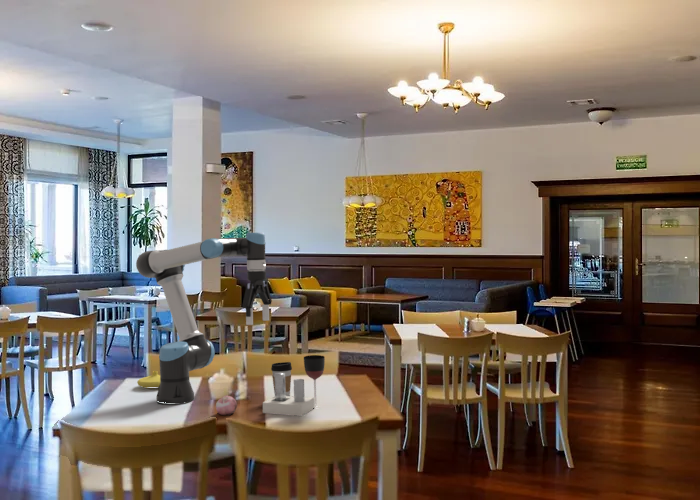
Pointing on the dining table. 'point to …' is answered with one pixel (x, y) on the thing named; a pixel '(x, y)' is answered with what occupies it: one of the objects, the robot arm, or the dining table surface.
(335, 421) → the dining table surface
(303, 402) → the socket block
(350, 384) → the dining table surface
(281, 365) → the coffee cup
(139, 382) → the yellow knobbed lid
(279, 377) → the pipe
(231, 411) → the red onion
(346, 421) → the dining table surface
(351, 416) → the dining table surface
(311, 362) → the wineglass
